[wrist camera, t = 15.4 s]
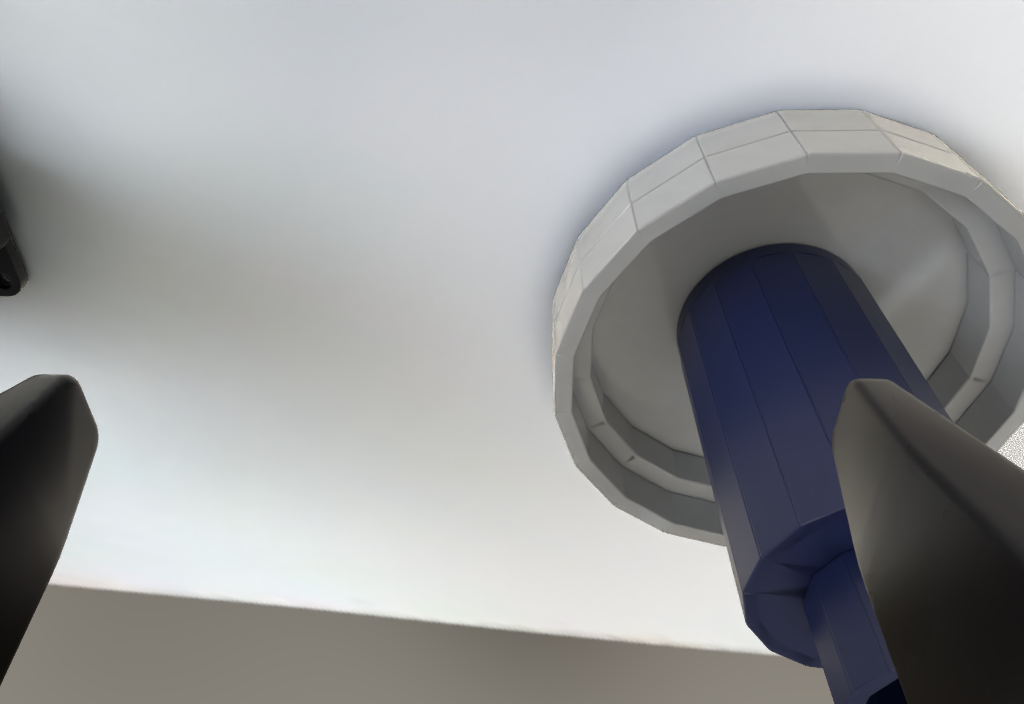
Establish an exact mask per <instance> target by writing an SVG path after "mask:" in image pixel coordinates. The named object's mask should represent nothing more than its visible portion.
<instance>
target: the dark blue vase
mask: <svg viewBox="0 0 1024 704" xmlns="http://www.w3.org/2000/svg"><path fill="white" fill-rule="evenodd" d="M676 335H677V345H678V350H679V354H680V359H681V365H682V371H683V375H684V379H685V383H686V386H687V390H688V394H689V398H690V402H691V406H692V410H693V414H694V418H695V422H696V426H697V430H698V434H699V438H700V442H701V446H702V450H703V454H704V458H705V462H706V466H707V470H708V474H709V478H710V482H711V486H712V490H713V494H714V498H715V502H716V506H717V510H718V514H719V518H720V522H721V526H722V530H723V534H724V538H725V542H726V546H727V550H728V554H729V558H730V562H731V566H732V570H733V574H734V578H735V582H736V586H737V590H738V594H739V598H740V602H741V606H742V610H743V614H744V618H745V622H746V624H747V626H748V627H749V628H750V629H751V630H752V631H753V632H754V634H755V635H756V636H757V637H758V638H759V639H760V640H761V641H762V642H763V644H764V645H765V646H766V647H767V648H768V649H769V650H771V651H772V652H775V653H777V654H779V655H782V656H784V657H786V658H789V659H791V660H793V661H796V662H798V663H801V664H803V665H805V666H809V667H817V668H823V669H824V673H825V676H826V679H827V682H828V685H829V688H830V691H831V694H832V697H833V700H834V703H835V704H907V701H906V698H905V695H904V693H903V690H902V687H901V684H900V681H899V679H898V676H897V673H896V670H895V668H894V665H893V662H892V659H891V656H890V654H889V651H888V648H887V645H886V642H885V640H884V637H883V634H882V631H881V628H880V626H879V623H878V620H877V617H876V614H875V612H874V609H873V606H872V603H871V601H870V598H869V595H868V592H867V589H866V587H865V584H864V580H863V577H862V574H861V571H860V568H859V565H858V561H857V557H856V553H855V549H854V545H853V540H852V536H851V532H850V527H849V523H848V518H847V514H846V510H845V505H844V501H843V496H842V492H841V487H840V483H839V479H838V474H837V470H836V465H835V461H834V457H833V452H832V434H833V429H834V426H835V423H836V419H837V416H838V412H839V409H840V406H841V402H842V399H843V396H844V392H845V389H846V387H847V385H848V384H849V382H850V381H852V380H854V379H888V380H890V381H892V382H894V383H895V384H897V385H898V386H900V387H901V388H903V389H904V390H906V391H907V392H909V393H910V394H912V395H913V396H915V397H916V398H917V399H919V400H920V401H922V402H923V403H925V404H926V405H928V406H929V407H931V408H932V409H934V410H935V411H937V412H938V413H940V414H941V415H943V416H944V417H946V418H947V419H949V420H950V421H952V420H951V418H950V417H949V415H948V414H947V412H946V411H945V409H944V407H943V406H942V404H941V403H940V401H939V400H938V398H937V397H936V395H935V393H934V392H933V390H932V389H931V387H930V386H929V384H928V382H927V381H926V379H925V378H924V376H923V375H922V373H921V371H920V370H919V368H918V367H917V365H916V364H915V362H914V361H913V359H912V357H911V356H910V354H909V353H908V351H907V350H906V348H905V346H904V345H903V343H902V342H901V340H900V339H899V337H898V335H897V334H896V332H895V331H894V329H893V328H892V326H891V325H890V323H889V321H888V320H887V318H886V317H885V315H884V314H883V312H882V310H881V309H880V307H879V306H878V304H877V303H876V301H875V299H874V298H873V296H872V295H871V293H870V292H869V290H868V289H867V287H866V285H865V284H864V282H863V281H862V279H861V278H860V277H859V276H858V275H857V273H856V272H855V271H854V270H853V269H852V268H851V267H850V265H849V264H848V263H846V262H845V261H844V260H842V259H841V258H839V257H838V256H836V255H834V254H832V253H830V252H828V251H826V250H823V249H820V248H817V247H813V246H808V245H803V244H774V245H767V246H762V247H758V248H754V249H751V250H748V251H745V252H743V253H740V254H738V255H736V256H734V257H732V258H730V259H728V260H726V261H724V262H723V263H721V264H720V265H718V266H717V267H715V268H714V269H713V270H712V271H710V272H709V273H708V274H707V275H706V276H705V277H704V278H703V279H702V280H701V281H700V282H699V283H698V284H697V285H696V286H695V288H694V289H693V290H692V291H691V293H690V294H689V296H688V298H687V300H686V301H685V303H684V305H683V308H682V310H681V312H680V316H679V320H678V324H677V333H676Z"/></svg>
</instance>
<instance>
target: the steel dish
mask: <svg viewBox="0 0 1024 704" xmlns="http://www.w3.org/2000/svg"><path fill="white" fill-rule="evenodd" d="M774 244H803V245H808V246H813V247H817V248H820V249H823V250H826V251H828V252H830V253H832V254H834V255H836V256H838V257H839V258H841V259H842V260H844V261H845V262H846V263H848V264H849V265H850V267H851V268H852V269H853V270H854V271H855V272H856V273H857V275H858V276H859V277H860V278H861V279H862V281H863V282H864V284H865V285H866V287H867V289H868V290H869V292H870V293H871V295H872V296H873V298H874V299H875V301H876V303H877V304H878V306H879V307H880V309H881V310H882V312H883V314H884V315H885V317H886V318H887V320H888V321H889V323H890V325H891V326H892V328H893V329H894V331H895V332H896V334H897V335H898V337H899V339H900V340H901V342H902V343H903V345H904V346H905V348H906V350H907V351H908V353H909V354H910V356H911V357H912V359H913V361H914V362H915V364H916V365H917V367H918V368H919V370H920V371H921V373H922V375H923V376H924V378H925V379H926V381H927V382H928V384H929V386H930V387H931V389H932V390H933V392H934V393H935V395H936V397H937V398H938V400H939V401H940V403H941V404H942V406H943V407H944V409H945V411H946V412H947V414H948V415H949V417H950V418H951V420H952V422H953V423H955V424H956V425H958V426H959V427H961V428H962V429H963V430H965V431H966V432H968V433H969V434H971V435H972V436H974V437H975V438H977V439H978V440H980V441H981V442H983V443H984V444H986V445H987V446H989V447H990V448H992V449H993V450H995V451H996V452H997V451H998V450H999V449H1000V448H1001V447H1002V445H1003V444H1004V443H1005V442H1006V441H1007V440H1008V439H1009V438H1010V437H1011V435H1012V434H1013V433H1014V432H1015V431H1016V430H1017V429H1018V428H1019V427H1020V426H1021V424H1022V423H1023V422H1024V214H1023V213H1022V212H1021V211H1020V210H1019V209H1018V208H1017V207H1016V206H1015V205H1014V204H1012V203H1011V202H1010V201H1009V200H1008V199H1007V198H1006V197H1005V196H1004V195H1003V194H1002V193H1000V192H999V191H998V190H997V189H996V188H995V187H994V186H993V185H992V184H991V183H990V182H989V181H987V180H986V179H985V178H984V177H983V176H982V175H981V174H980V173H978V172H977V171H976V170H975V169H974V168H973V167H971V166H970V165H969V164H968V163H967V162H966V161H965V160H963V159H962V158H961V157H960V156H959V155H958V154H957V153H955V152H954V151H953V150H952V149H951V148H950V147H948V146H947V145H946V144H945V143H944V142H943V141H942V140H940V139H939V138H938V137H937V136H934V135H932V134H931V133H929V132H926V131H923V130H920V129H917V128H914V127H911V126H908V125H905V124H902V123H899V122H896V121H893V120H890V119H887V118H884V117H881V116H878V115H875V114H872V113H869V112H866V111H861V110H778V111H777V112H771V113H768V114H765V115H762V116H758V117H755V118H752V119H749V120H745V121H742V122H739V123H736V124H732V125H729V126H726V127H723V128H719V129H716V130H713V131H710V132H706V133H703V134H700V135H697V136H696V137H695V136H694V137H692V138H690V139H689V140H687V141H686V142H684V143H683V144H681V145H680V146H678V147H676V148H675V149H673V150H672V151H670V152H669V153H667V154H666V155H664V156H663V157H661V158H660V159H658V160H656V161H655V162H653V163H652V164H650V165H649V166H647V167H646V168H644V169H643V170H641V171H640V172H638V173H636V174H635V175H633V176H632V177H630V178H629V179H627V180H626V182H624V183H623V184H622V186H621V187H620V188H619V189H618V190H617V191H616V193H615V194H614V195H613V196H612V197H611V198H610V200H609V201H608V202H607V203H606V204H605V206H604V207H603V208H602V209H601V210H600V211H599V213H598V214H597V215H596V216H595V217H594V218H593V220H592V221H591V222H590V223H589V224H588V226H587V227H586V228H585V229H584V230H583V231H582V233H581V234H580V235H579V236H578V240H577V241H576V243H575V245H574V248H573V250H572V253H571V255H570V258H569V260H568V263H567V265H566V268H565V270H564V273H563V275H562V278H561V280H560V283H559V285H558V288H557V290H556V293H555V295H554V300H553V320H552V370H553V398H554V412H555V417H556V419H557V422H558V424H559V427H560V429H561V432H562V434H563V437H564V439H565V442H566V444H567V447H568V449H569V452H570V454H571V456H572V459H573V461H574V464H575V465H576V467H577V468H578V469H579V470H580V471H581V472H582V473H583V474H584V475H585V476H586V477H587V478H588V479H589V480H590V481H591V482H592V483H593V485H594V486H595V487H596V488H597V489H598V490H599V491H600V492H601V493H602V494H603V495H604V496H605V497H606V498H607V499H608V500H609V501H610V502H611V503H612V504H613V505H614V506H615V507H617V508H619V509H621V510H623V511H625V512H627V513H628V514H630V515H632V516H634V517H636V518H638V519H640V520H642V521H643V522H645V523H647V524H649V525H651V526H653V527H655V528H657V529H659V530H660V531H662V532H666V533H668V534H672V535H676V536H681V537H685V538H689V539H694V540H698V541H702V542H707V543H711V544H715V545H720V546H726V542H725V538H724V534H723V530H722V526H721V522H720V518H719V514H718V510H717V506H716V502H715V498H714V494H713V490H712V486H711V482H710V478H709V474H708V470H707V466H706V462H705V458H704V454H703V450H702V446H701V442H700V438H699V434H698V430H697V426H696V422H695V418H694V414H693V410H692V406H691V402H690V398H689V394H688V390H687V386H686V383H685V379H684V375H683V371H682V365H681V359H680V354H679V350H678V345H677V335H676V333H677V324H678V320H679V316H680V312H681V310H682V308H683V305H684V303H685V301H686V300H687V298H688V296H689V294H690V293H691V291H692V290H693V289H694V288H695V286H696V285H697V284H698V283H699V282H700V281H701V280H702V279H703V278H704V277H705V276H706V275H707V274H708V273H709V272H710V271H712V270H713V269H714V268H715V267H717V266H718V265H720V264H721V263H723V262H724V261H726V260H728V259H730V258H732V257H734V256H736V255H738V254H740V253H743V252H745V251H748V250H751V249H754V248H758V247H762V246H767V245H774ZM726 547H727V546H726Z"/></svg>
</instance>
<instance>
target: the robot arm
mask: <svg viewBox="0 0 1024 704" xmlns="http://www.w3.org/2000/svg"><path fill="white" fill-rule="evenodd" d="M1 274H4V275H6V276H7V277H9V279H10V280H11V281H12V282H11V281H8V280H6V279H4V278H3V276H2V275H1ZM27 281H28V278H27V274H26V271H25V269H24V266H23V264H22V262H21V259H20V257H19V255H18V252H17V250H16V247H15V245H14V243H13V240H12V238H11V232H10V230H9V227H8V225H7V223H6V220H5V218H4V216H3V213H2V211H1V208H0V296H13V295H16V294H17V293H18V292H20V291H21V289H22V288H23V287H24V286H25V285H26V284H27ZM97 446H98V429H97V425H96V423H95V420H94V418H93V415H92V413H91V411H90V408H89V406H88V403H87V401H86V398H85V396H84V394H83V391H82V389H81V386H80V384H79V383H78V381H77V380H76V379H75V378H74V377H72V376H70V375H50V374H42V375H35V376H32V377H30V378H28V379H26V380H25V381H23V382H21V383H19V384H17V385H15V386H14V387H12V388H10V389H8V390H6V391H4V392H3V393H1V394H0V685H1V683H2V681H3V679H4V677H5V675H6V672H7V670H8V668H9V666H10V664H11V662H12V659H13V657H14V655H15V653H16V651H17V649H18V647H19V645H20V642H21V640H22V638H23V636H24V634H25V632H26V630H27V628H28V625H29V623H30V621H31V619H32V617H33V614H34V613H35V610H36V608H37V606H38V604H39V602H40V599H41V597H42V595H43V593H44V591H45V589H46V587H47V585H48V583H49V580H50V578H51V576H52V574H53V571H54V569H55V567H56V565H57V562H58V560H59V558H60V555H61V552H62V550H63V547H64V544H65V542H66V539H67V536H68V533H69V530H70V527H71V524H72V521H73V518H74V515H75V512H76V509H77V506H78V503H79V500H80V497H81V494H82V491H83V488H84V485H85V482H86V479H87V476H88V473H89V470H90V467H91V465H92V462H93V459H94V456H95V453H96V450H97ZM832 452H833V457H834V461H835V465H836V470H837V474H838V479H839V483H840V487H841V492H842V496H843V501H844V505H845V510H846V514H847V518H848V523H849V527H850V532H851V536H852V540H853V545H854V549H855V553H856V557H857V561H858V565H859V568H860V571H861V574H862V577H863V580H864V584H865V587H866V589H867V592H868V595H869V598H870V601H871V603H872V606H873V609H874V612H875V614H876V617H877V620H878V623H879V626H880V628H881V631H882V634H883V637H884V640H885V642H886V645H887V648H888V651H889V654H890V656H891V659H892V662H893V665H894V668H895V670H896V673H897V676H898V679H899V681H900V684H901V687H902V690H903V693H904V695H905V698H906V701H907V704H1024V470H1023V469H1021V468H1020V467H1018V466H1017V465H1015V464H1014V463H1012V462H1011V461H1009V460H1008V459H1007V458H1005V457H1004V456H1002V455H1001V454H999V453H998V452H996V451H995V450H993V449H992V448H990V447H989V446H987V445H986V444H984V443H983V442H981V441H980V440H978V439H977V438H975V437H974V436H972V435H971V434H969V433H968V432H966V431H965V430H963V429H962V428H961V427H959V426H958V425H956V424H955V423H953V422H952V421H950V420H949V419H947V418H946V417H944V416H943V415H941V414H940V413H938V412H937V411H935V410H934V409H932V408H931V407H929V406H928V405H926V404H925V403H923V402H922V401H920V400H919V399H917V398H916V397H915V396H913V395H912V394H910V393H909V392H907V391H906V390H904V389H903V388H901V387H900V386H898V385H897V384H895V383H894V382H892V381H890V380H888V379H854V380H852V381H850V382H849V384H848V385H847V387H846V389H845V392H844V396H843V399H842V402H841V406H840V409H839V412H838V416H837V419H836V423H835V426H834V429H833V434H832Z"/></svg>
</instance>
